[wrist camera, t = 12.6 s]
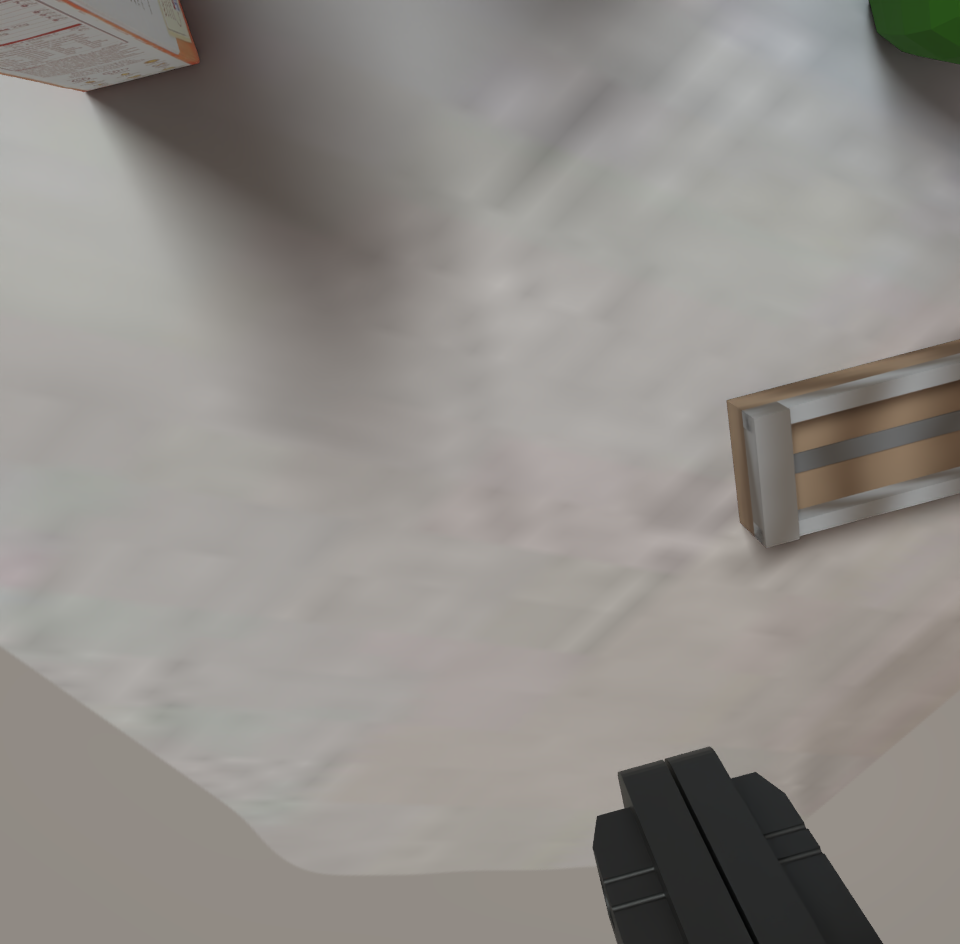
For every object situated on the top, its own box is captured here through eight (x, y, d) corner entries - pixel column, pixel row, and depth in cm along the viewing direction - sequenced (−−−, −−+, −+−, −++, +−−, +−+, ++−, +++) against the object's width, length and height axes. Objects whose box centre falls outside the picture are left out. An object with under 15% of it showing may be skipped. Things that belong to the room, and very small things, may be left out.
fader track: (739, 522, 48) (766, 548, 45) (726, 400, 45) (754, 418, 42) (1109, 423, 49) (1161, 441, 45) (1121, 296, 45) (1178, 307, 42)
